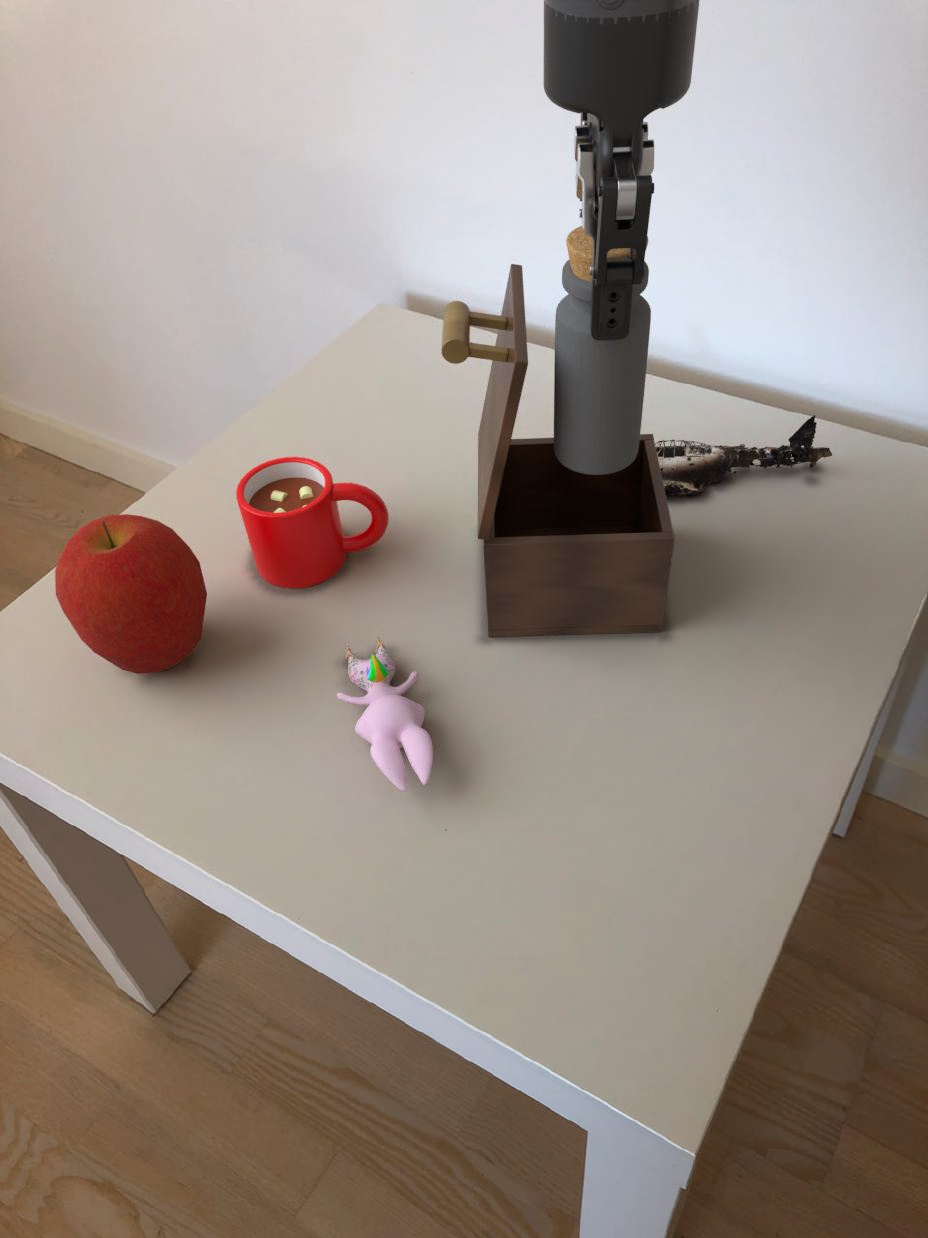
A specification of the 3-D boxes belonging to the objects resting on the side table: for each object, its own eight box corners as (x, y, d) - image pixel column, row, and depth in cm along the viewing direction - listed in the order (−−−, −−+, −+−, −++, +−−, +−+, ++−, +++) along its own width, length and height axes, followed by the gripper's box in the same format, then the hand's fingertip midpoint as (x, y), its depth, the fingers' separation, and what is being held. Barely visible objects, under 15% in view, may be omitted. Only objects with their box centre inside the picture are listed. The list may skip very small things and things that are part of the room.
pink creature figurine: (330, 681, 74) (373, 818, 62) (315, 621, 71) (357, 755, 59) (407, 659, 75) (463, 790, 64) (395, 599, 72) (453, 727, 60)
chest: (642, 526, 83) (653, 433, 76) (661, 632, 74) (675, 538, 67) (487, 531, 83) (483, 439, 76) (488, 637, 75) (483, 544, 68)
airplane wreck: (839, 485, 85) (854, 434, 81) (634, 503, 85) (639, 453, 81) (817, 447, 89) (831, 396, 85) (622, 464, 89) (626, 414, 85)
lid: (522, 264, 65) (449, 253, 65) (528, 362, 57) (444, 351, 56) (487, 435, 76) (424, 427, 75) (488, 540, 67) (417, 532, 67)
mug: (395, 578, 80) (384, 506, 74) (253, 592, 80) (231, 521, 74) (391, 518, 85) (381, 446, 80) (258, 531, 85) (239, 460, 79)
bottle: (616, 417, 68) (631, 208, 57) (653, 463, 64) (676, 248, 53) (540, 436, 67) (540, 227, 56) (573, 484, 63) (580, 269, 52)
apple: (246, 620, 77) (203, 486, 67) (186, 714, 71) (128, 582, 61) (137, 597, 80) (79, 465, 70) (69, 686, 73) (-5, 555, 63)
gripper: (727, 26, 41) (683, 371, 53) (677, -53, 50) (650, 252, 63) (552, 37, 41) (548, 377, 53) (537, -44, 51) (537, 258, 63)
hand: (604, 308), depth 58 cm, fingers closed on bottle, 5 cm apart
